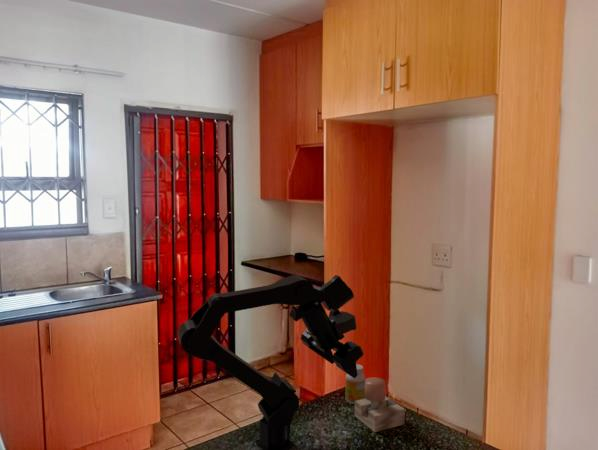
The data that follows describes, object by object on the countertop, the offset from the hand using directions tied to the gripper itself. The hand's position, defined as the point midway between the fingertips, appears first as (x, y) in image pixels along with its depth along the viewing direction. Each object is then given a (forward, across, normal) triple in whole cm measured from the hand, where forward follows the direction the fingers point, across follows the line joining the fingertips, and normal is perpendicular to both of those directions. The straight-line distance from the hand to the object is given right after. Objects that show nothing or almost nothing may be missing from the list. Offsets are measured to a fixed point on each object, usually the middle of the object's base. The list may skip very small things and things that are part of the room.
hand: (344, 369), depth 115 cm
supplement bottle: (+19, +9, -1) cm, 21 cm away
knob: (+15, -2, 0) cm, 15 cm away
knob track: (+17, -3, -1) cm, 18 cm away
